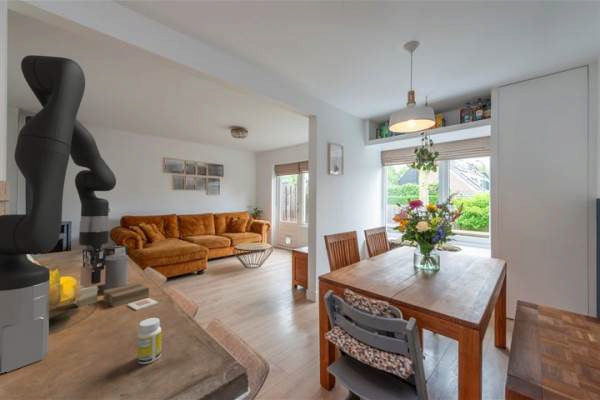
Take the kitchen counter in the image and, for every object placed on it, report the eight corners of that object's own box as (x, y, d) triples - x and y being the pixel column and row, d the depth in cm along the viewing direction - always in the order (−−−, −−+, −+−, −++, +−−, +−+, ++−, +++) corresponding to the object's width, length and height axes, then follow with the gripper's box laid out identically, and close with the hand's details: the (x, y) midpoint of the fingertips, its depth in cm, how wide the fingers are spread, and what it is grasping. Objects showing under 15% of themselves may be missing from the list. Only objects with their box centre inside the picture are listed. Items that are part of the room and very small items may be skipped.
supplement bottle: (156, 349, 60) (157, 314, 60) (164, 357, 57) (165, 320, 57) (134, 359, 56) (134, 322, 56) (141, 367, 53) (141, 329, 53)
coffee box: (128, 280, 112) (128, 246, 113) (114, 285, 106) (114, 248, 107) (113, 279, 115) (113, 245, 115) (98, 283, 109) (99, 247, 109)
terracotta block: (105, 284, 80) (105, 265, 81) (85, 288, 76) (86, 268, 76) (99, 281, 83) (100, 264, 83) (80, 285, 79) (81, 266, 79)
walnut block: (148, 298, 93) (148, 287, 93) (113, 308, 84) (114, 296, 84) (136, 292, 99) (136, 282, 99) (103, 301, 90) (103, 290, 90)
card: (158, 303, 87) (158, 301, 87) (136, 310, 81) (136, 308, 81) (148, 299, 91) (148, 297, 91) (127, 305, 85) (127, 303, 85)
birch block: (97, 302, 88) (97, 286, 88) (78, 307, 83) (79, 290, 84) (92, 299, 90) (92, 283, 91) (74, 304, 86) (74, 287, 86)
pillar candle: (92, 292, 97) (93, 255, 98) (117, 284, 107) (117, 250, 107) (109, 295, 94) (110, 257, 95) (133, 287, 104) (134, 252, 104)
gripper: (73, 229, 81) (71, 281, 81) (87, 231, 73) (85, 288, 73) (100, 228, 88) (99, 276, 87) (116, 230, 80) (115, 282, 79)
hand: (92, 281), depth 80 cm, fingers closed on terracotta block, 5 cm apart
